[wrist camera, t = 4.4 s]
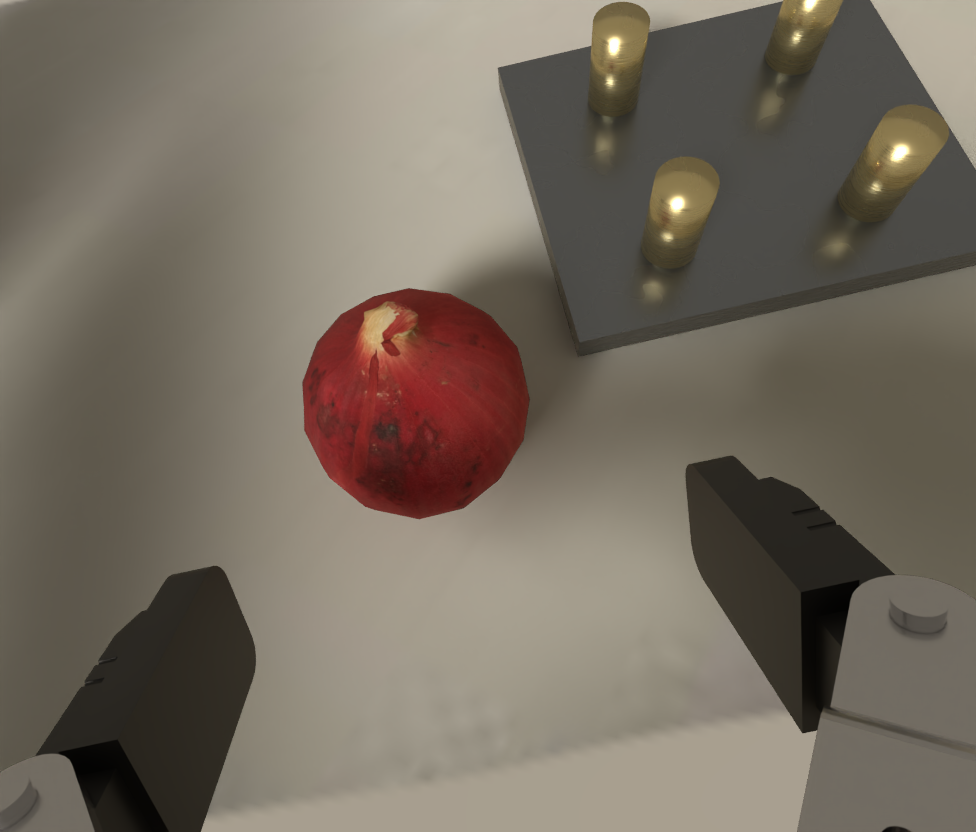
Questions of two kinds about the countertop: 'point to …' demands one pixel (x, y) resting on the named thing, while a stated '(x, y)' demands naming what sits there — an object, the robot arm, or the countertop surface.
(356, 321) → the onion
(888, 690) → the robot arm
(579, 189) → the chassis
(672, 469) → the countertop surface
